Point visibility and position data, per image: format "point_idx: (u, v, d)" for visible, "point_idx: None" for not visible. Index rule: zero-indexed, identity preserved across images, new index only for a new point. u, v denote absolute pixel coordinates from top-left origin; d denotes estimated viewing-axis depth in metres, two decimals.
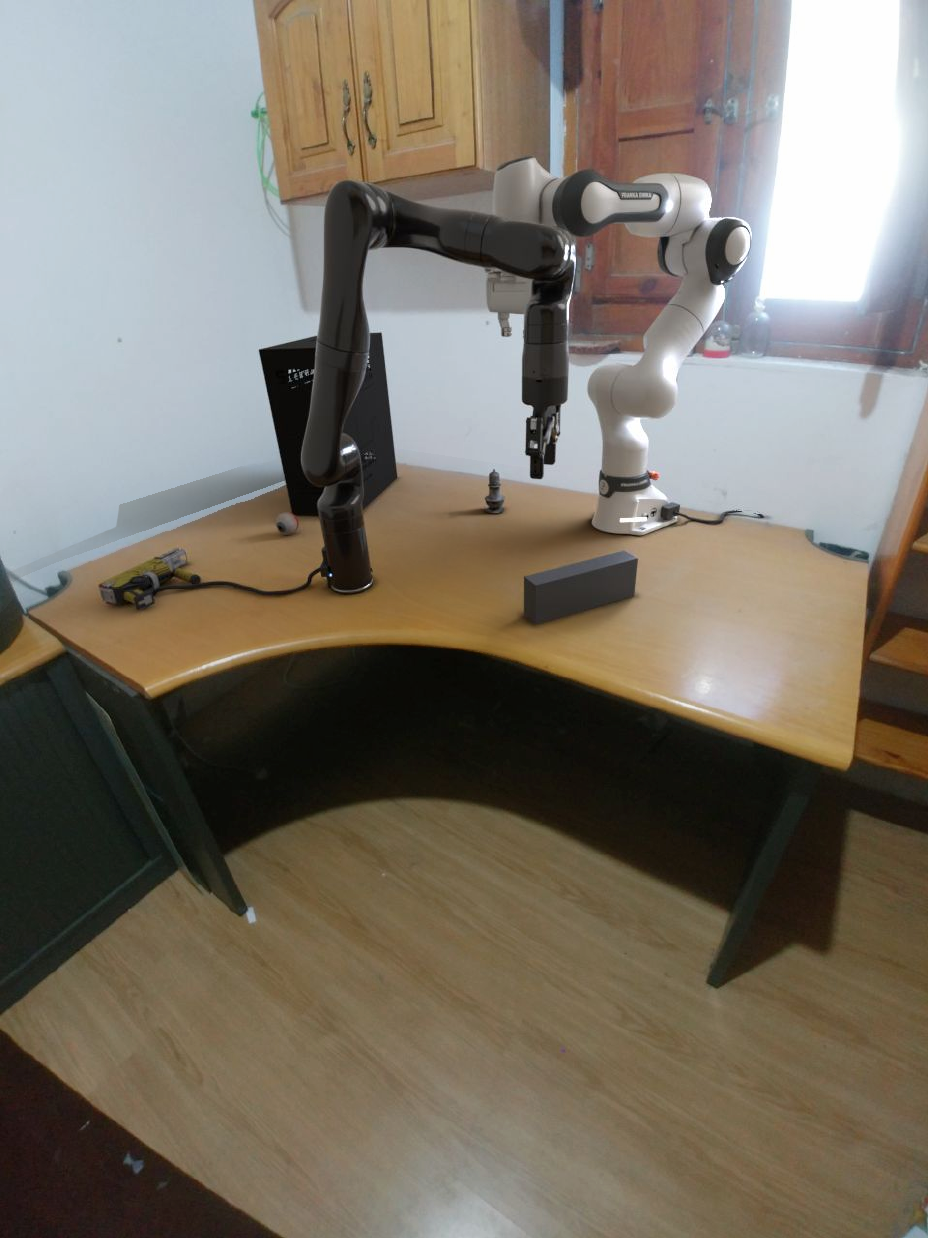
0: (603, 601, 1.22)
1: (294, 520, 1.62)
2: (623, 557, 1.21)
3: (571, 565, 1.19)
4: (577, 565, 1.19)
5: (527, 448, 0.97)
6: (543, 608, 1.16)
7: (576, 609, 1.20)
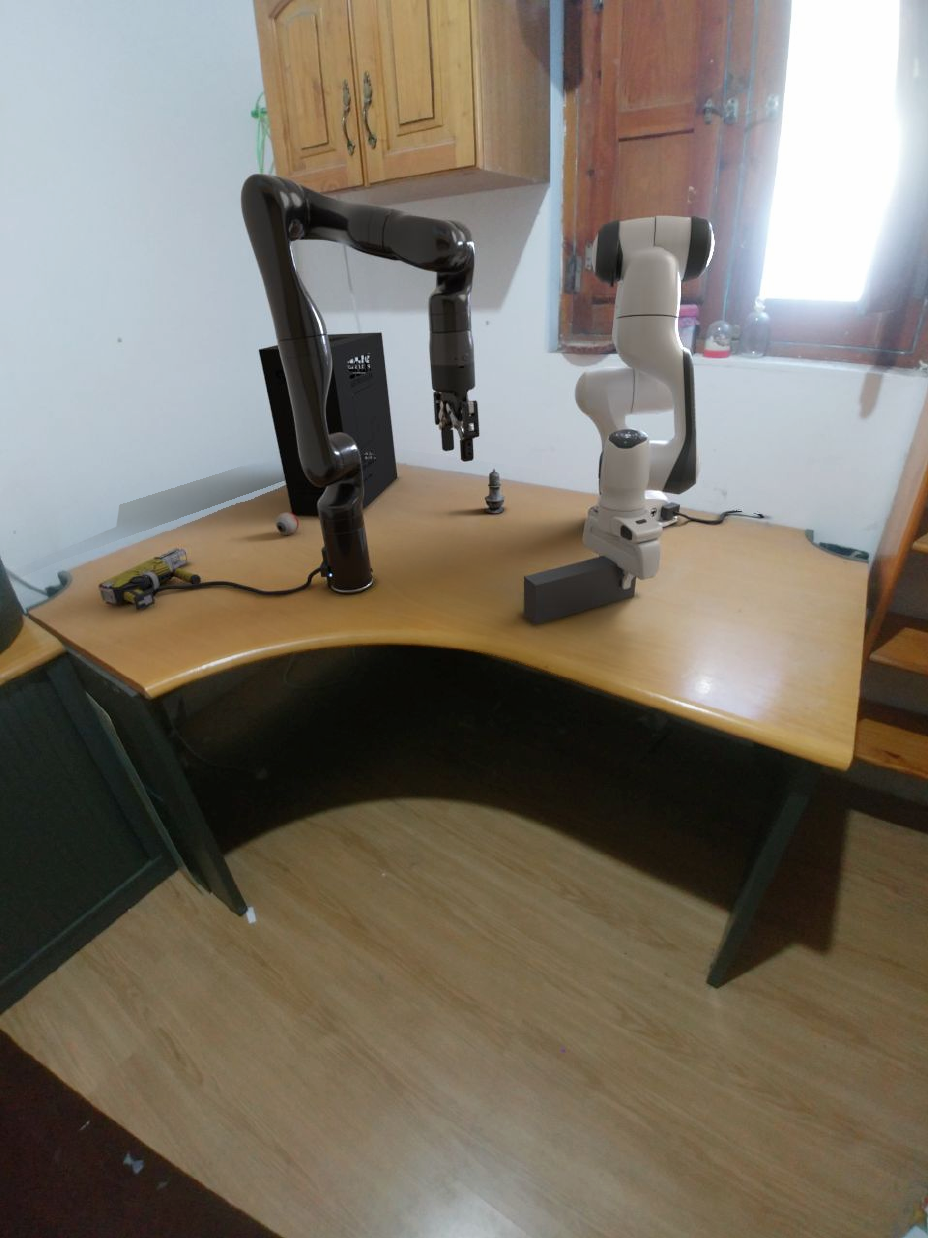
0: (603, 601, 1.22)
1: (294, 520, 1.62)
2: None
3: (571, 565, 1.19)
4: (577, 565, 1.19)
5: (467, 431, 1.02)
6: (543, 608, 1.16)
7: (576, 609, 1.20)
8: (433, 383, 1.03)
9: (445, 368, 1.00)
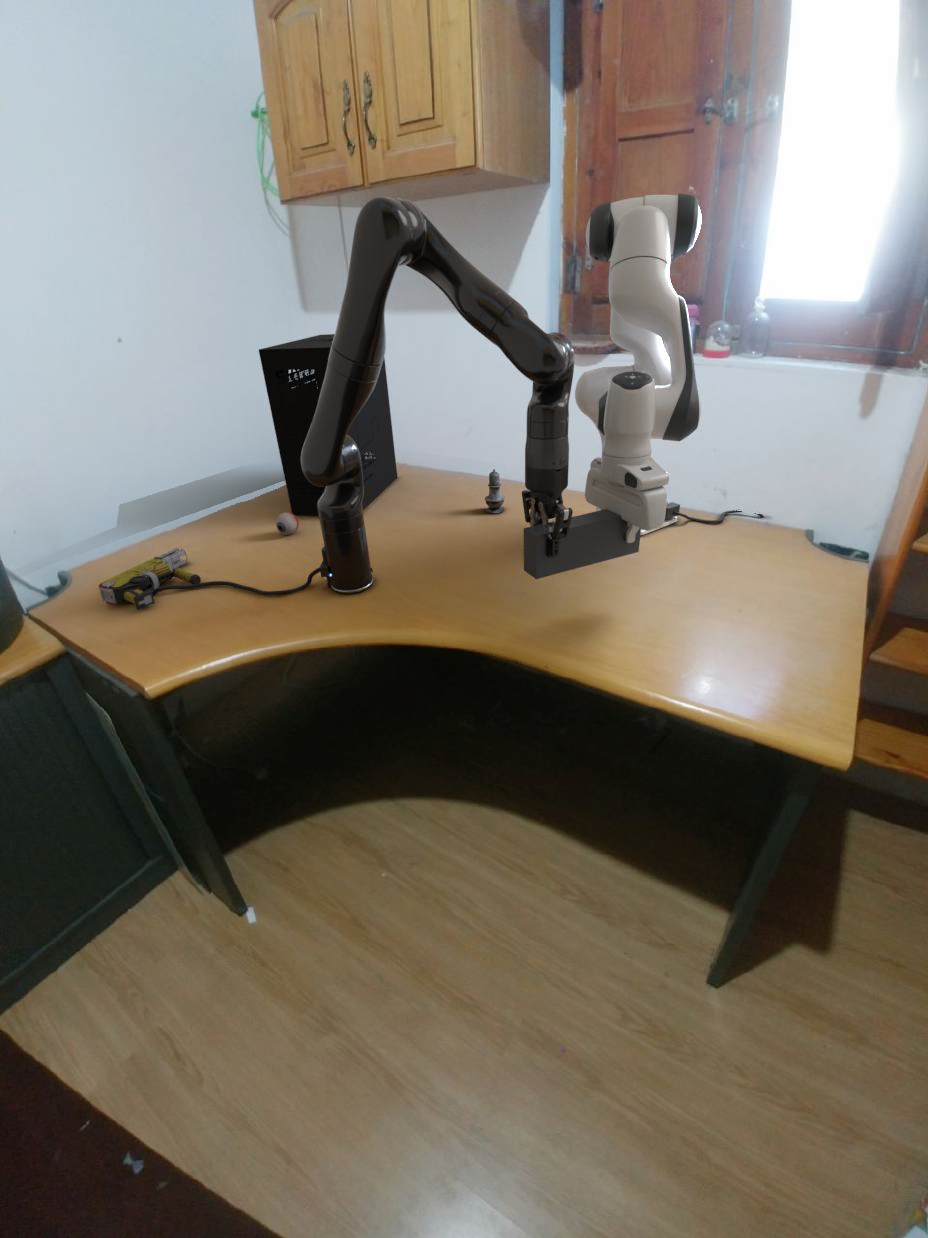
0: (606, 556, 1.17)
1: (294, 520, 1.62)
2: None
3: (573, 517, 1.14)
4: (579, 517, 1.14)
5: (557, 534, 1.05)
6: (544, 561, 1.11)
7: (578, 564, 1.15)
8: (528, 483, 1.05)
9: (542, 471, 1.02)
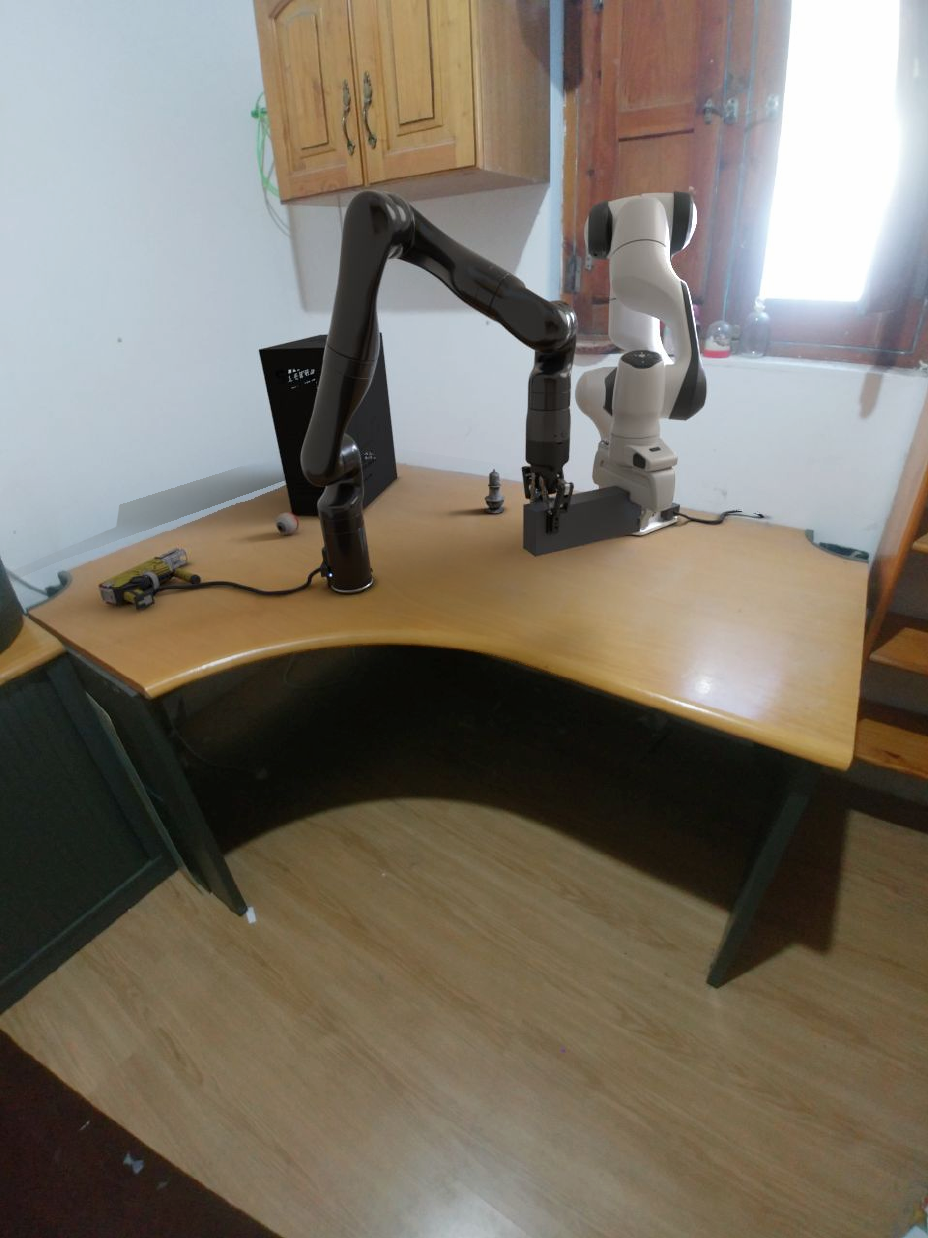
0: (607, 535, 1.15)
1: (294, 520, 1.62)
2: None
3: (574, 495, 1.12)
4: (580, 495, 1.12)
5: (558, 510, 1.03)
6: (544, 538, 1.09)
7: (578, 542, 1.12)
8: (528, 457, 1.02)
9: (543, 444, 0.99)
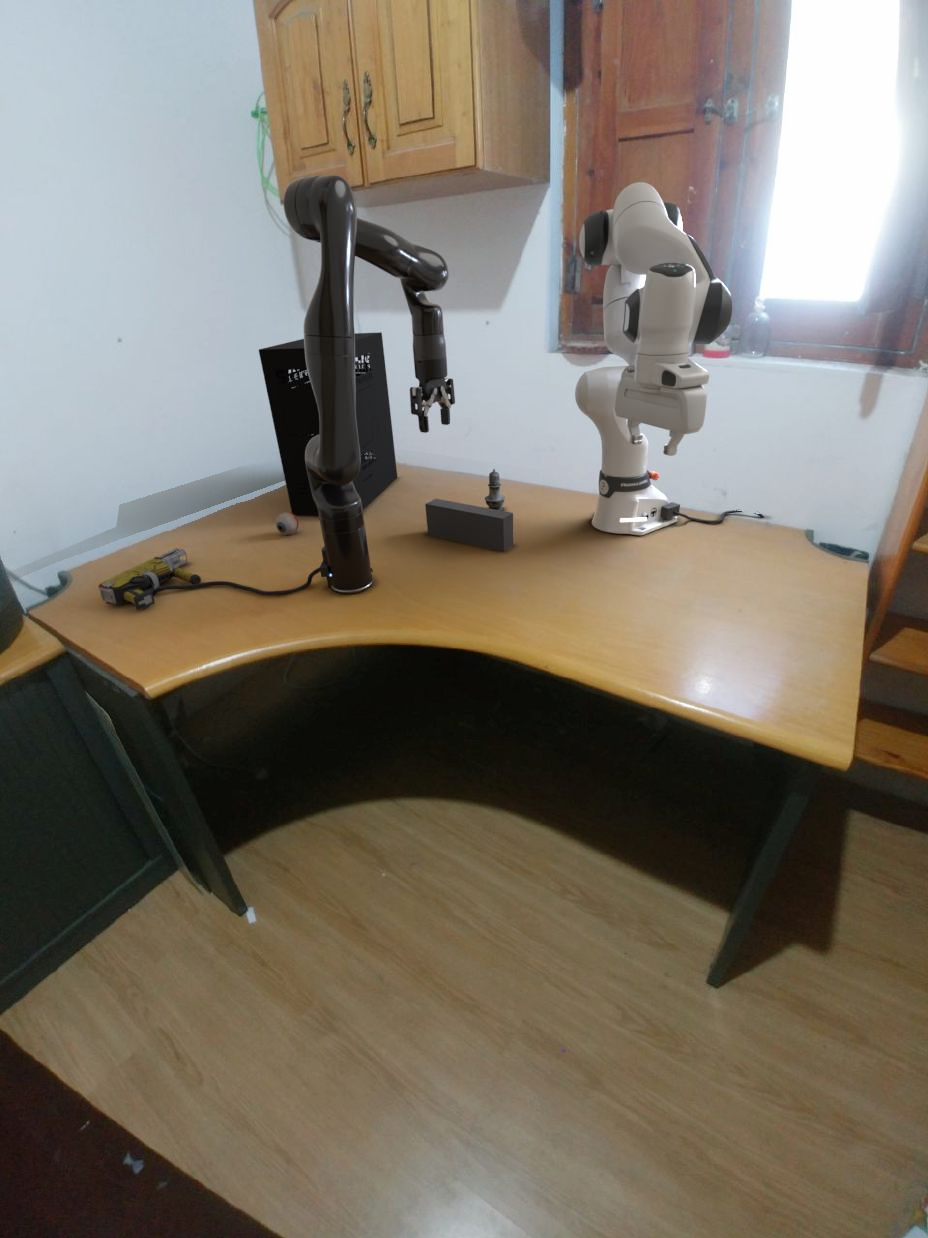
0: (477, 542, 1.51)
1: (294, 520, 1.62)
2: (499, 515, 1.46)
3: (467, 505, 1.53)
4: (468, 506, 1.52)
5: (412, 409, 1.39)
6: (432, 524, 1.57)
7: (456, 538, 1.55)
8: None
9: (414, 360, 1.38)
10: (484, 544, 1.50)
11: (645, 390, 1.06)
